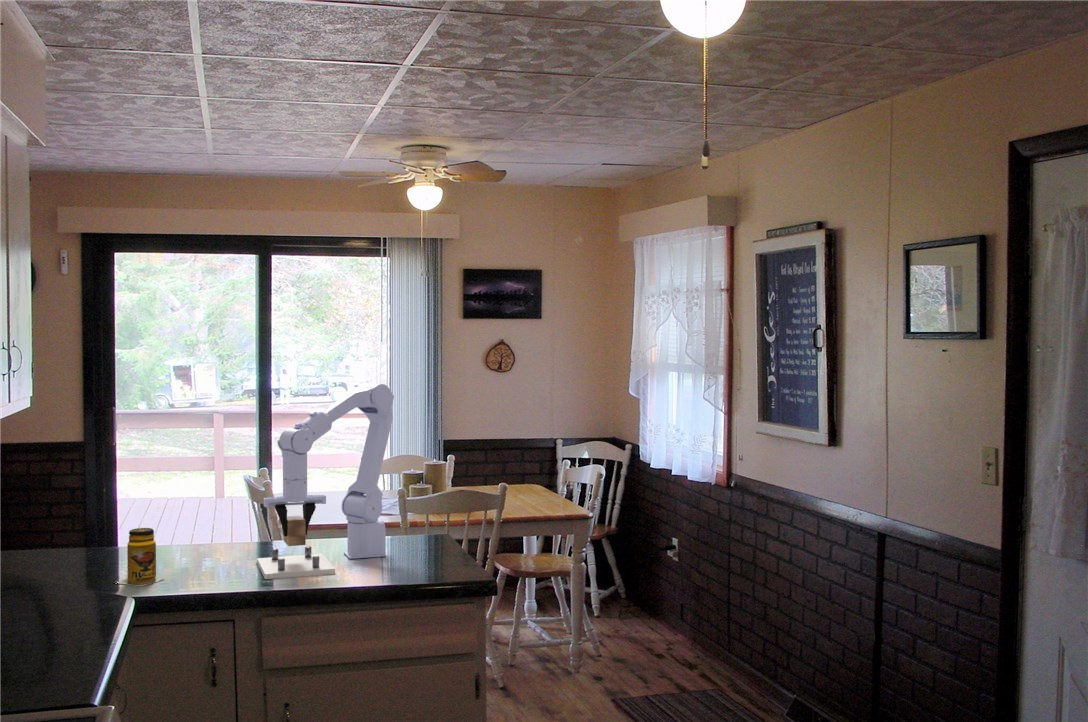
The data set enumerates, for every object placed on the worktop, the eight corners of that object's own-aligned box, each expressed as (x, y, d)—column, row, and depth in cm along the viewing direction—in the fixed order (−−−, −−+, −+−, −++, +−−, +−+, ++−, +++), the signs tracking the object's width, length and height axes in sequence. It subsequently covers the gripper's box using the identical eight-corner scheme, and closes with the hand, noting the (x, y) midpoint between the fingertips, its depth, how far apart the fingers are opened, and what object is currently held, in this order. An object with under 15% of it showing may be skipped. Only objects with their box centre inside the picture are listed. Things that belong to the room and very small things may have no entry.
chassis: (322, 558, 257) (322, 543, 257) (335, 573, 240) (335, 558, 240) (256, 563, 251) (256, 548, 251) (265, 579, 234) (265, 563, 234)
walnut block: (300, 540, 250) (300, 515, 250) (305, 545, 243) (305, 519, 243) (284, 541, 249) (283, 516, 249) (288, 546, 241) (288, 520, 241)
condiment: (143, 586, 227) (143, 533, 226) (112, 583, 229) (112, 530, 229) (165, 579, 234) (165, 527, 233) (134, 576, 236) (134, 525, 236)
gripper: (322, 475, 251) (322, 530, 252) (262, 477, 246) (262, 533, 246) (327, 478, 245) (327, 535, 245) (265, 481, 239) (265, 539, 240)
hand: (295, 534), depth 245 cm, fingers closed on walnut block, 4 cm apart
